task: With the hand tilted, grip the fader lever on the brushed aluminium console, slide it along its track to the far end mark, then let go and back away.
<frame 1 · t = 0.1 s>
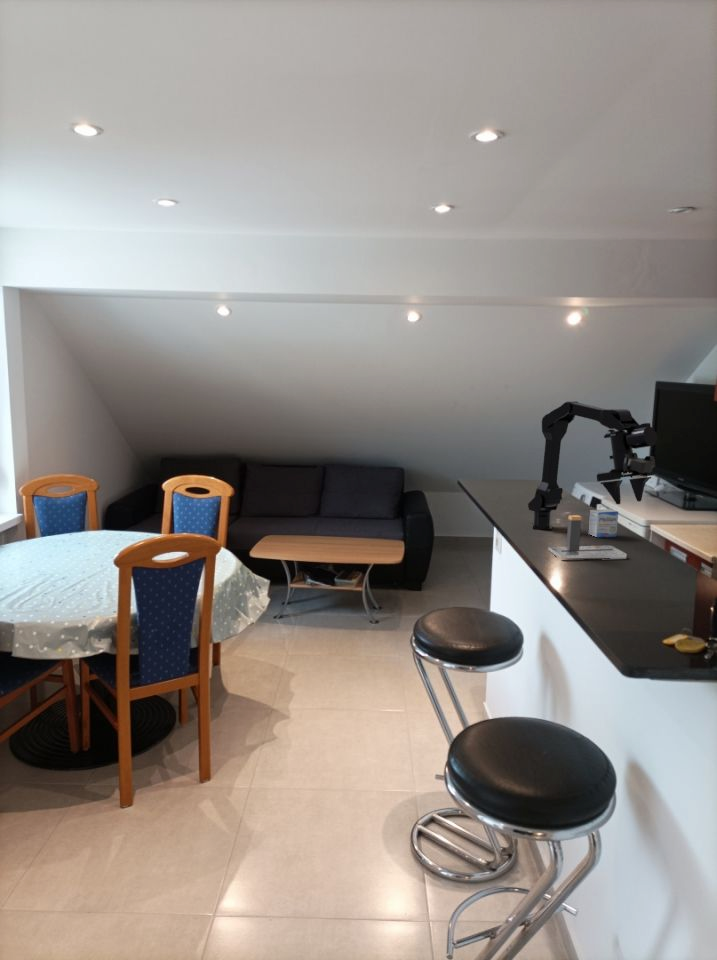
hand: (629, 502, 193), 15 cm above the worktop, tool pointing down, fingers open, 9 cm apart
medicine box: (602, 536, 215), on the worktop
fader console: (586, 555, 193), on the worktop
fader lever: (573, 532, 191), point 7 cm above the worktop, slide at -4.5 cm
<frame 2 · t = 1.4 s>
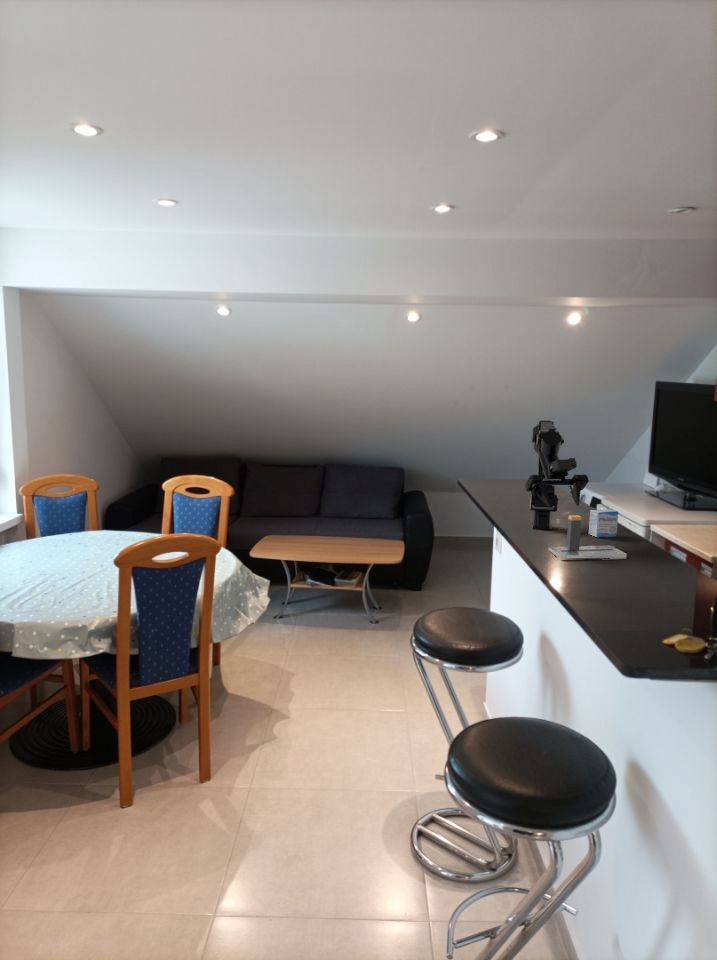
hand: (563, 505, 198), 13 cm above the worktop, tool tilted 45°, fingers open, 9 cm apart
nothing on the worktop moved.
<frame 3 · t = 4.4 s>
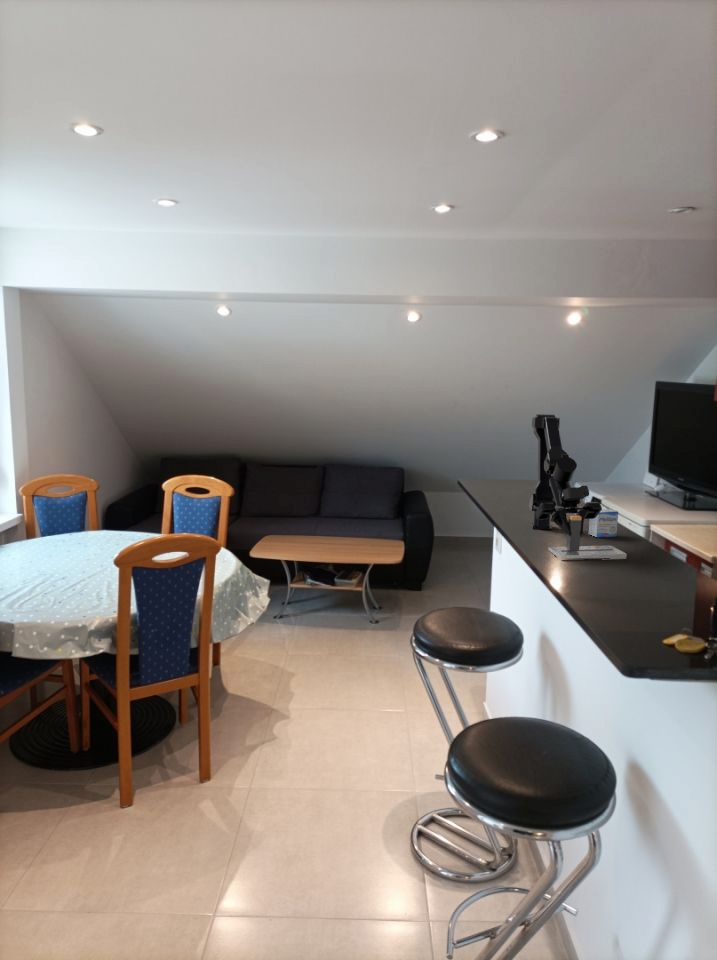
hand: (575, 535, 190), 7 cm above the worktop, tool tilted 45°, fingers closed on fader lever, 3 cm apart
fader lever: (573, 532, 191), point 7 cm above the worktop, slide at -4.5 cm, touching gripper
everything else where it was.
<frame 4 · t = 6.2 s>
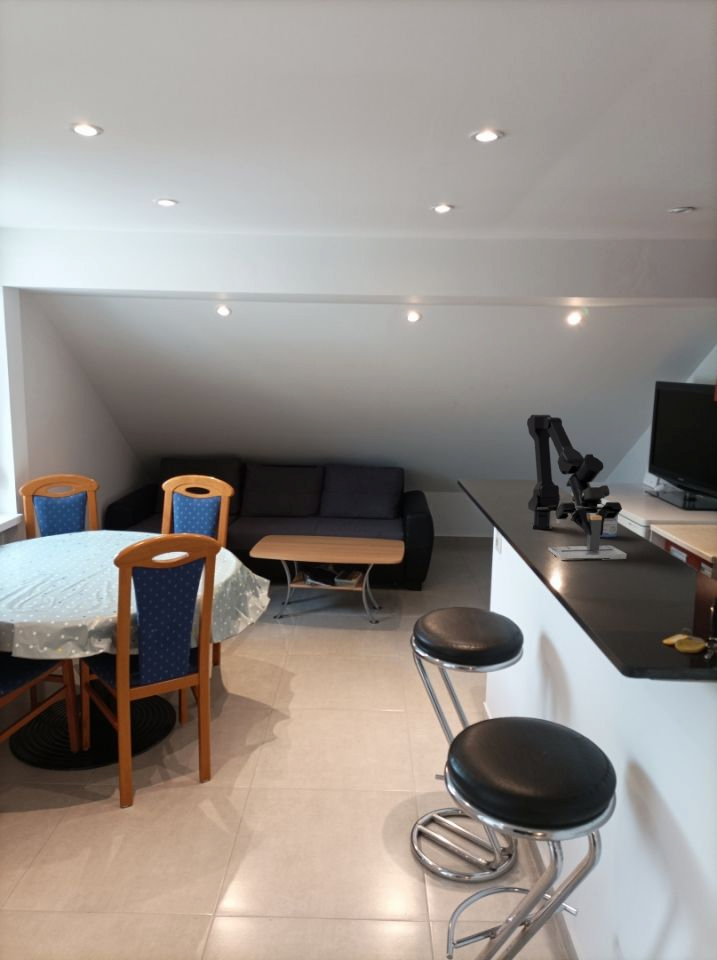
hand: (596, 534, 191), 7 cm above the worktop, tool tilted 45°, fingers closed on fader lever, 3 cm apart
fader lever: (594, 532, 192), point 7 cm above the worktop, slide at 1.8 cm, touching gripper
everything else where it was.
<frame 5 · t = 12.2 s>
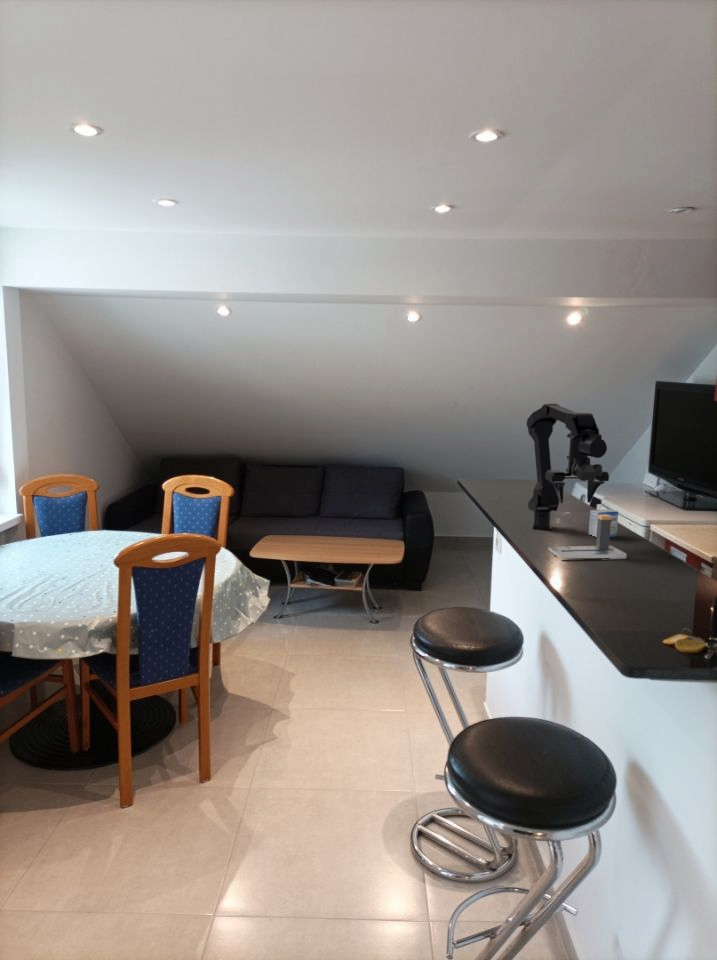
hand: (575, 502, 204), 13 cm above the worktop, tool pointing down, fingers open, 9 cm apart
fader lever: (603, 532, 192), point 7 cm above the worktop, slide at 4.8 cm
everything else where it was.
at the end: fader lever slide at 4.8 cm; the gripper is holding nothing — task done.
